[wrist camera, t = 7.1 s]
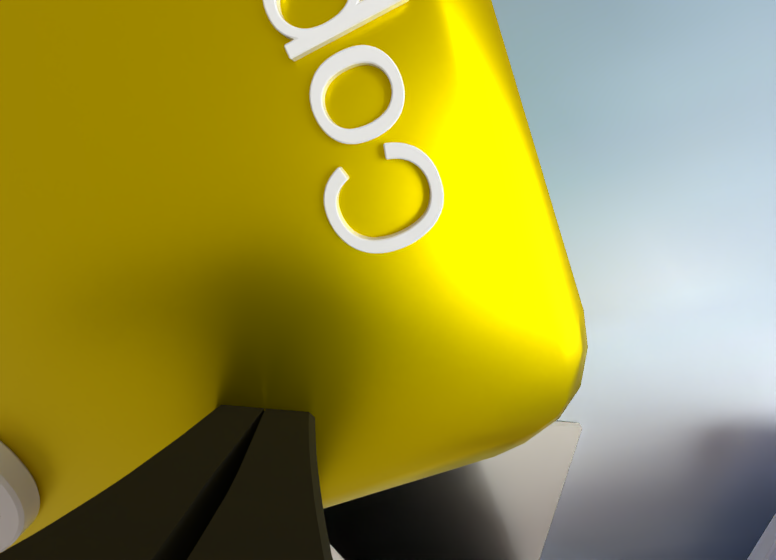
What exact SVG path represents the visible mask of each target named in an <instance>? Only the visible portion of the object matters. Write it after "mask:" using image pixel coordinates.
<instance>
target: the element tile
mask: <svg viewBox="0 0 776 560" xmlns="http://www.w3.org/2000/svg"><path fill="white" fill-rule="evenodd" d="M587 349H588V345H587V336H586V328H585V319H584V310H583V307H582V304H581V300H580V297H579V294H578V290H577V287H576V283H575V280H574V277H573V273H572V270H571V267H570V263H569V260H568V257H567V253H566V250H565V247H564V243H563V240H562V236H561V233H560V230H559V226H558V223H557V220H556V216H555V213H554V210H553V206H552V203H551V200H550V196H549V193H548V190H547V186H546V183H545V179H544V176H543V173H542V169H541V166H540V163H539V159H538V156H537V153H536V149H535V146H534V143H533V139H532V136H531V132H530V129H529V126H528V122H527V119H526V116H525V112H524V109H523V106H522V102H521V99H520V96H519V92H518V89H517V86H516V82H515V79H514V75H513V72H512V69H511V65H510V62H509V59H508V55H507V52H506V49H505V45H504V42H503V39H502V35H501V32H500V28H499V25H498V22H497V18H496V15H495V12H494V8H493V5H492V2H491V0H0V553H1V552H3V551H5V550H6V549H8V548H10V547H12V546H14V545H15V544H17V543H19V542H21V541H22V540H24V539H26V538H28V537H29V536H31V535H33V534H35V533H36V532H38V531H40V530H41V529H43V528H45V527H46V526H48V525H50V524H51V523H53V522H55V521H56V520H58V519H59V518H61V517H62V516H64V515H66V514H67V513H69V512H70V511H72V510H74V509H75V508H77V507H78V506H80V505H82V504H83V503H85V502H86V501H88V500H90V499H91V498H93V497H94V496H96V495H97V494H99V493H101V492H102V491H104V490H105V489H107V488H108V487H110V486H111V485H113V484H114V483H116V482H117V481H119V480H120V479H122V478H123V477H125V476H126V475H127V474H129V473H130V472H132V471H133V470H135V469H136V468H137V467H139V466H140V465H142V464H143V463H144V462H146V461H147V460H148V459H150V458H151V457H153V456H154V455H155V454H157V453H158V452H159V451H161V450H162V449H164V448H165V447H166V446H168V445H169V444H171V443H172V442H173V441H175V440H176V439H177V438H179V437H180V436H181V435H183V434H184V433H185V432H187V431H188V430H189V429H190V428H192V427H193V426H194V425H196V424H197V423H198V422H199V421H201V420H202V419H203V418H204V417H206V416H207V415H208V414H210V413H211V412H212V411H213V410H215V409H216V408H217V407H219V406H220V405H233V406H245V407H257V408H264V411H265V409H266V408H269V409H281V410H293V411H305V412H310V413H311V414H312V415H313V416H314V417H315V432H316V452H317V464H318V474H319V482H320V489H321V497H322V504H323V509H324V508H327V507H330V506H334V505H337V504H340V503H344V502H347V501H350V500H354V499H357V498H360V497H363V496H367V495H370V494H373V493H377V492H380V491H383V490H386V489H390V488H393V487H396V486H400V485H403V484H406V483H409V482H413V481H416V480H419V479H423V478H426V477H429V476H433V475H436V474H439V473H442V472H446V471H449V470H452V469H456V468H459V467H462V466H465V465H469V464H472V463H475V462H479V461H482V460H485V459H488V458H492V457H495V456H497V455H499V454H502V453H504V452H506V451H508V450H510V449H513V448H515V447H517V446H519V445H521V444H524V443H525V442H527V441H528V440H530V439H531V438H532V437H534V436H535V435H537V434H538V433H539V432H541V431H542V430H543V429H545V428H546V427H548V426H549V425H550V424H552V423H553V422H555V421H556V420H557V419H559V417H560V416H561V414H562V413H563V412H564V410H565V409H566V407H567V406H568V404H569V403H570V401H571V400H572V398H573V397H574V395H575V394H576V392H577V391H578V389H579V388H580V385H581V380H582V375H583V370H584V364H585V359H586V354H587Z"/></svg>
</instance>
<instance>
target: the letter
mask: <svg viewBox="0 0 776 560" xmlns="http://www.w3.org/2000/svg"><path fill="white" fill-rule="evenodd" d="M581 431H582V426H581V425H580V423H571V422H559V421H555V422H553V423H552V424H550V425H549V426H548V427H546V428H545V429H543V430H542V431H541V432H539V433H538V434H537V435H535V436H534V437H532V438H531V439H530V440H528V441H527V442H525V443H524V444H521V445H519V446H517V447H515V448H513V449H510V450H508V451H506V452H504V453H502V454H499V455H497V456H495V457H492V458H488V459H485V460H482V461H479V462H475V463H472V464H469V465H465V466H462V467H459V468H456V469H452V470H449V471H446V472H442V473H439V474H436V475H433V476H429V477H426V478H423V479H419V480H416V481H413V482H409V483H406V484H403V485H400V486H396V487H393V488H390V489H386V490H383V491H380V492H377V493H373V494H370V495H367V496H363V497H360V498H357V499H354V500H350V501H347V502H344V503H340V504H337V505H334V506H330V507H327V508H324V509H323V510H324V516H325V522H326V528H327V533H328V538H329V543H330V548H331V554H332V558H333V560H539V559H540V556H541V553H542V550H543V547H544V544H545V541H546V538H547V535H548V532H549V529H550V526H551V523H552V520H553V516H554V513H555V510H556V507H557V504H558V501H559V498H560V495H561V492H562V489H563V486H564V483H565V480H566V477H567V474H568V471H569V467H570V464H571V461H572V458H573V455H574V452H575V449H576V446H577V443H578V440H579V437H580V434H581Z"/></svg>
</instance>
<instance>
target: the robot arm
mask: <svg viewBox="0 0 776 560" xmlns="http://www.w3.org/2000/svg"><path fill="white" fill-rule="evenodd" d="M0 560H333V558H332V554H331V548H330V543H329V538H328V533H327V528H326V522H325V516H324V510H323V504H322V497H321V489H320V482H319V474H318V464H317V452H316V432H315V417H314V416H313V415H312V414H311V413H310V412H305V411H293V410H281V409H269V408H266V409H265V411H264V408H257V407H245V406H233V405H220V406H219V407H217V408H216V409H215V410H213V411H212V412H211V413H210V414H208V415H207V416H206V417H204V418H203V419H202V420H201V421H199V422H198V423H197V424H196V425H194V426H193V427H192V428H190V429H189V430H188V431H187V432H185V433H184V434H183V435H181V436H180V437H179V438H177V439H176V440H175V441H173V442H172V443H171V444H169V445H168V446H166V447H165V448H164V449H162V450H161V451H159V452H158V453H157V454H155V455H154V456H153V457H151V458H150V459H148V460H147V461H146V462H144V463H143V464H142V465H140V466H139V467H137V468H136V469H135V470H133V471H132V472H130V473H129V474H127V475H126V476H125V477H123V478H122V479H120V480H119V481H117V482H116V483H114V484H113V485H111V486H110V487H108V488H107V489H105V490H104V491H102V492H101V493H99V494H97V495H96V496H94V497H93V498H91V499H90V500H88V501H86V502H85V503H83V504H82V505H80V506H78V507H77V508H75V509H74V510H72V511H70V512H69V513H67V514H66V515H64V516H62V517H61V518H59V519H58V520H56V521H55V522H53V523H51V524H50V525H48V526H46V527H45V528H43V529H41V530H40V531H38V532H36V533H35V534H33V535H31V536H29V537H28V538H26V539H24V540H22V541H21V542H19V543H17V544H15V545H14V546H12V547H10V548H8V549H6V550H5V551H3V552H1V553H0ZM747 560H776V513H775V515H774V516H773V518H772V520H771V521H770V523H769V524H768V526H767V528H766V529H765V531H764V533H763V534H762V536H761V537H760V539H759V541H758V542H757V544H756V546H755V547H754V549H753V550H752V552H751V554H750V555H749V557H748V559H747Z"/></svg>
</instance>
